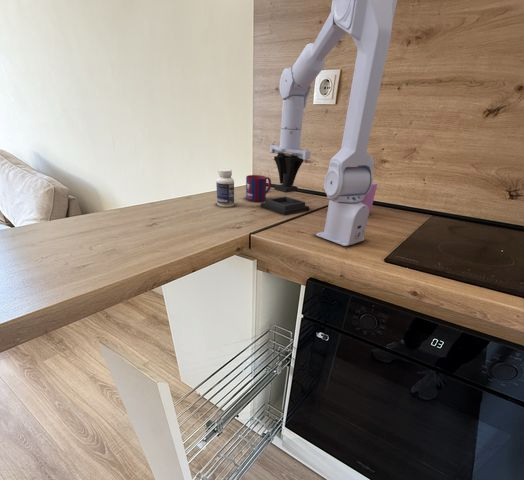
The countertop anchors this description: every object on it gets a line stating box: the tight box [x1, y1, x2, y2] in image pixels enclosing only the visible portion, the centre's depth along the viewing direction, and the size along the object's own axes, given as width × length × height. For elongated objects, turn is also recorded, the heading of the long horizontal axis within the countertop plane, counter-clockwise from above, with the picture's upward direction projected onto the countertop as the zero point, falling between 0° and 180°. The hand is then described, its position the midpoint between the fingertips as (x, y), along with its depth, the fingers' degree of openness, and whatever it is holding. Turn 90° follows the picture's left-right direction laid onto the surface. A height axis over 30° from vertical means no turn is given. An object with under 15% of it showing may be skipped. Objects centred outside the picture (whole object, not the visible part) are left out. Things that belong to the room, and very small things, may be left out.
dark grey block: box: [274, 173, 298, 194], centre depth 92 cm, size 5×5×4 cm
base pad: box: [260, 195, 310, 216], centre depth 96 cm, size 11×11×2 cm
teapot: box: [361, 182, 378, 213], centre depth 93 cm, size 18×14×10 cm
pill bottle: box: [215, 168, 235, 208], centre depth 93 cm, size 5×5×10 cm
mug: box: [245, 174, 272, 203], centre depth 103 cm, size 7×10×7 cm
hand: (286, 184), depth 92 cm, fingers closed on dark grey block, 2 cm apart
